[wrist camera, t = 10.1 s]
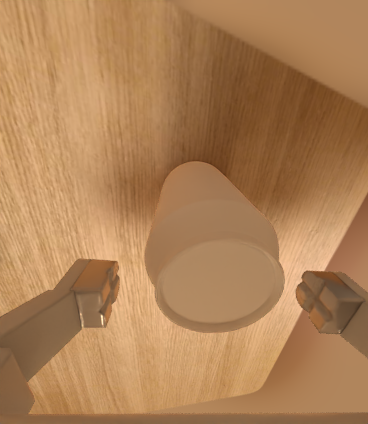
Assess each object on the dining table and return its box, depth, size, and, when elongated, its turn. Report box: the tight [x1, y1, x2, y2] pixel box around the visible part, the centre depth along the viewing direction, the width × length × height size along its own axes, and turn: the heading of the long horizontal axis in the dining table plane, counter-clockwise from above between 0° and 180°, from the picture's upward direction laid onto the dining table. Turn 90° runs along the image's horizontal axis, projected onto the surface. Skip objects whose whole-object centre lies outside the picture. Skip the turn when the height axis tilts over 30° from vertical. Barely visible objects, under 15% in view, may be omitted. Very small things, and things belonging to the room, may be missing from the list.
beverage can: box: [145, 161, 285, 333], centre depth 12 cm, size 6×6×12 cm
